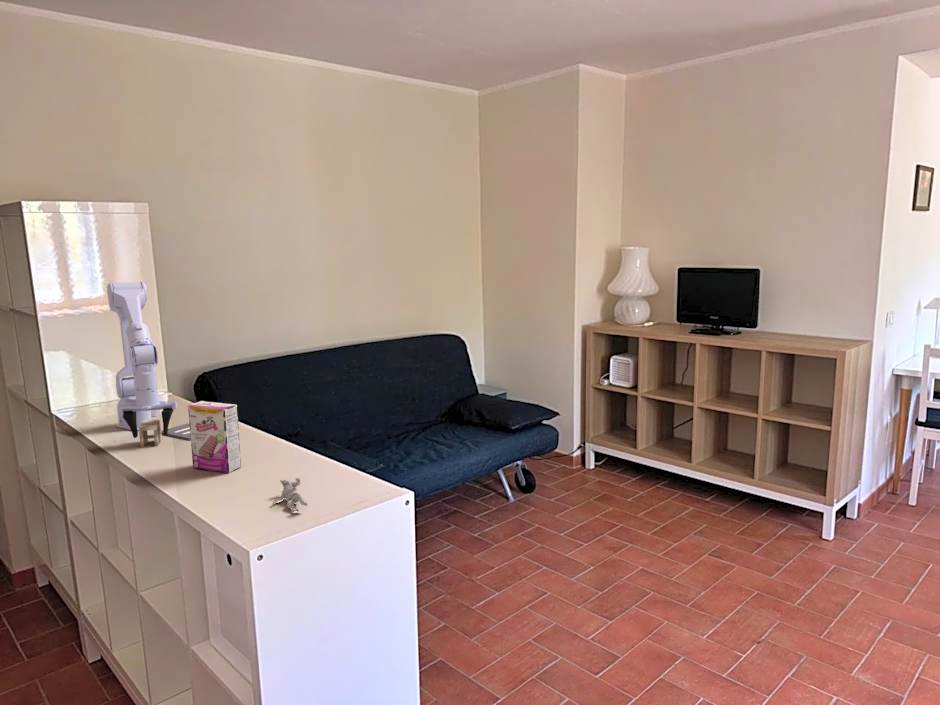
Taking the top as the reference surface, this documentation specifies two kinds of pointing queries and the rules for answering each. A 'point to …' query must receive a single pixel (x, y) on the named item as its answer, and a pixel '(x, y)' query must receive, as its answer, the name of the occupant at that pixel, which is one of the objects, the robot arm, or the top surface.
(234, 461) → the candy bar box
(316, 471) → the top surface
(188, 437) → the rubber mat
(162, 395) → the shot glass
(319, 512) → the top surface
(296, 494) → the grey creature figurine
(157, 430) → the two-pronged tan block
